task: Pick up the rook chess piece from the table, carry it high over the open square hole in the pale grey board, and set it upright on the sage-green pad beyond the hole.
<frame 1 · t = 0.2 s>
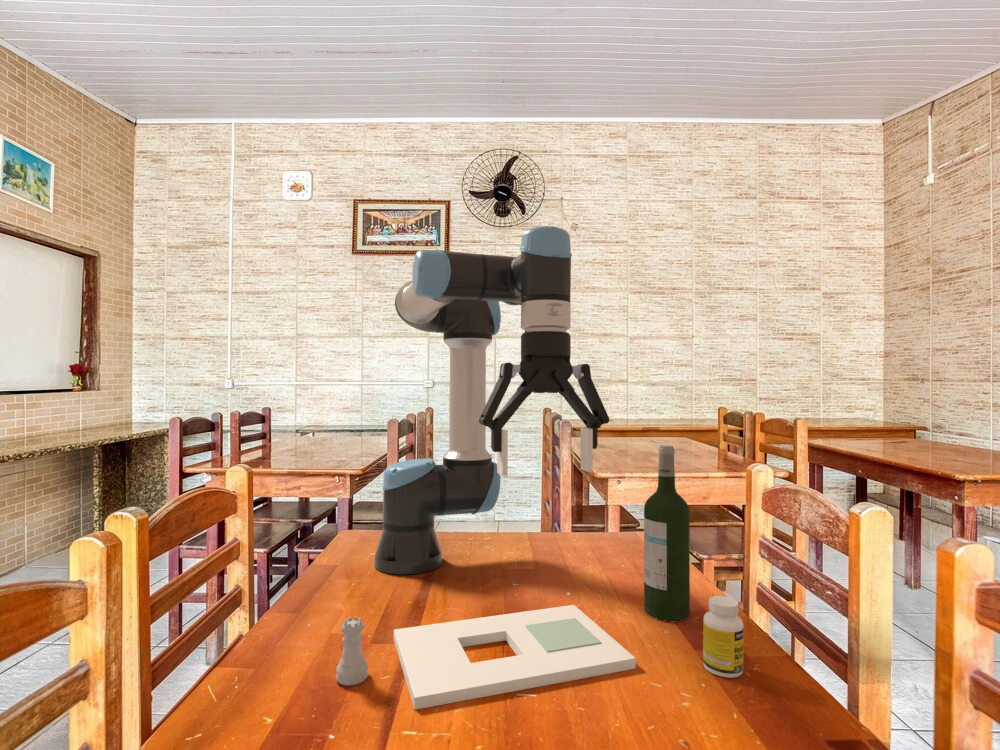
hand: (545, 472, 82), 28 cm above the table, tool pointing down, fingers open, 13 cm apart
hole board: (508, 653, 83), on the table
supplement bottle: (723, 670, 78), on the table
wine bottle: (666, 614, 98), on the table
rook chess piece: (352, 679, 75), on the table
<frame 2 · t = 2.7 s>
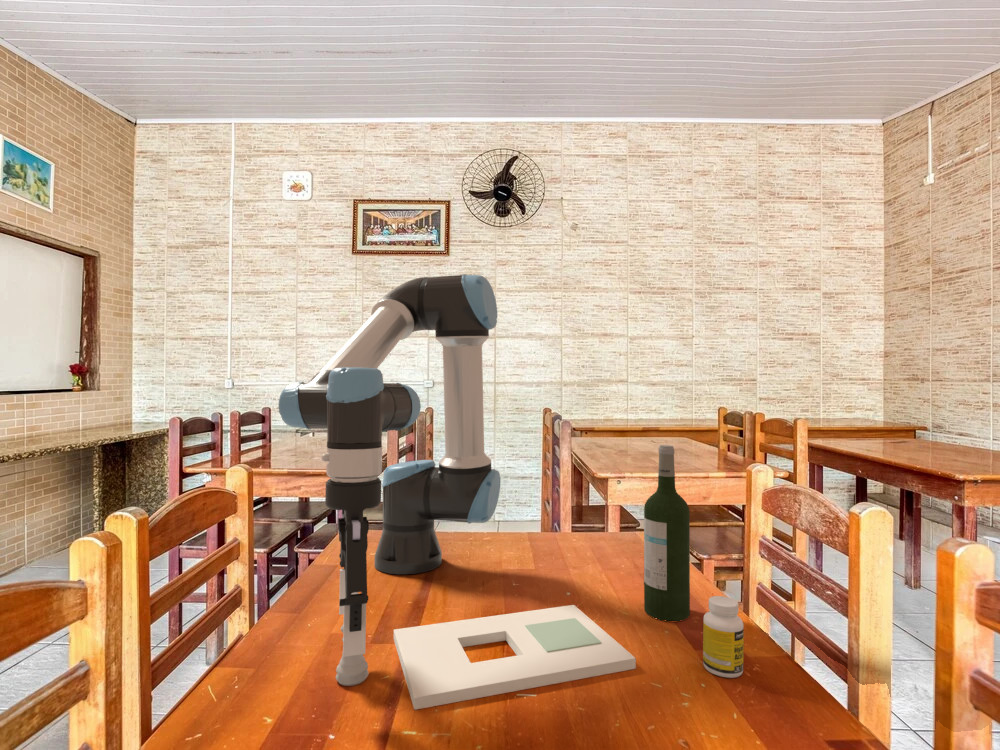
hand: (351, 631, 75), 7 cm above the table, tool pointing down, fingers open, 13 cm apart
nothing on the table moved.
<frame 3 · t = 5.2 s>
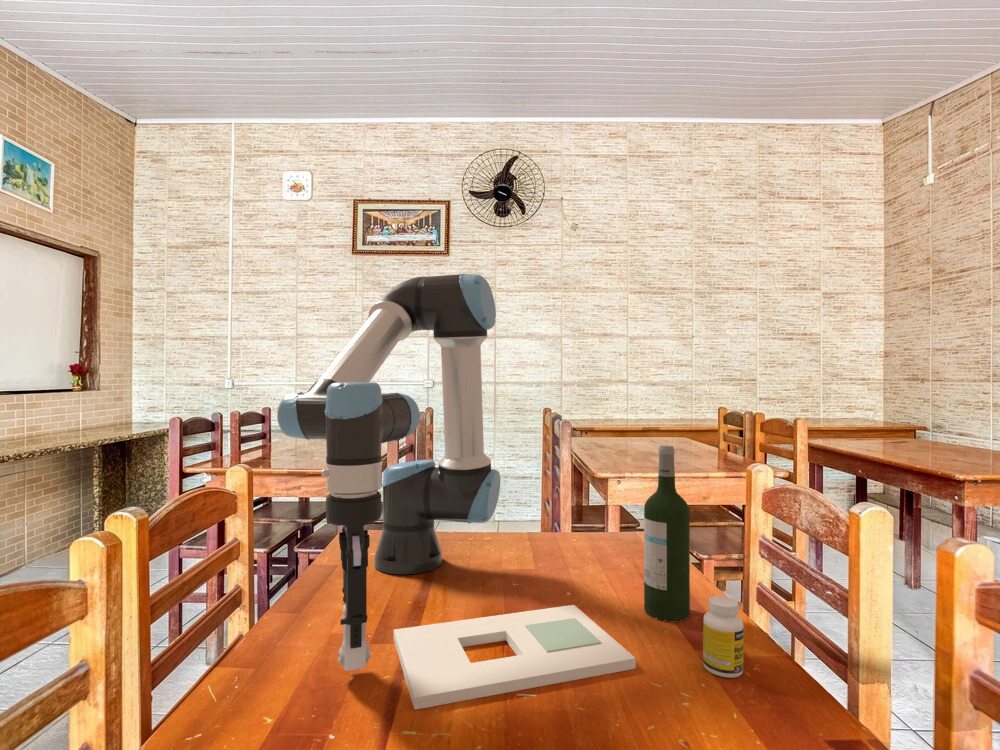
hand: (354, 658, 76), 2 cm above the table, tool pointing down, fingers closed on rook chess piece, 4 cm apart
rook chess piece: (354, 662, 76), point 2 cm above the table, touching gripper
everything else where it was.
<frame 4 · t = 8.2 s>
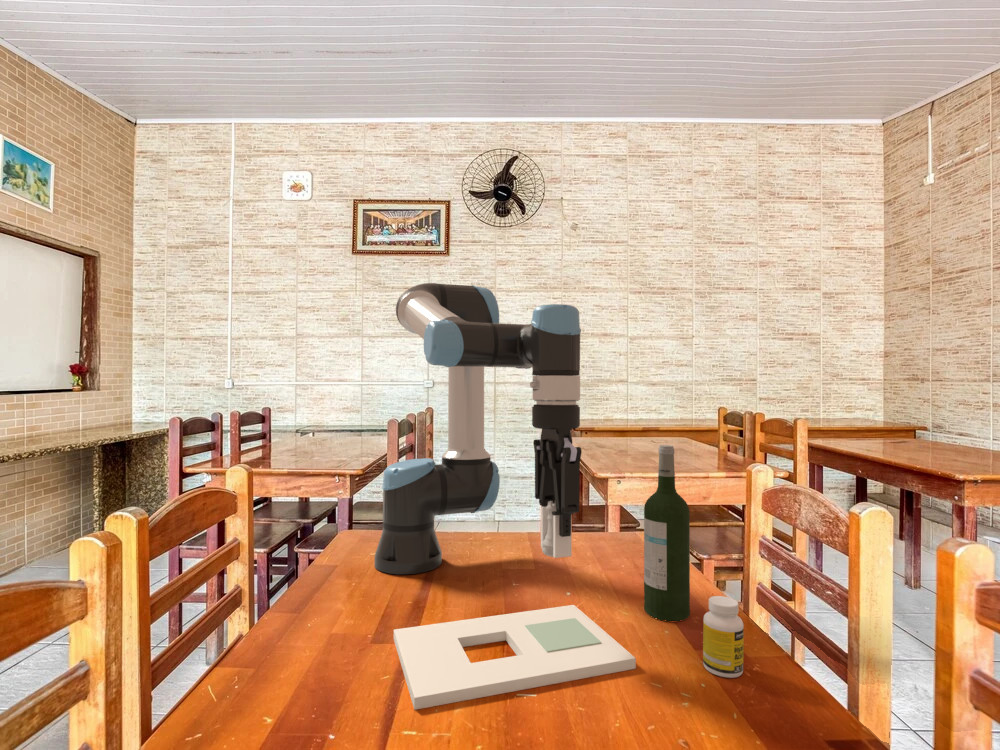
hand: (555, 551, 85), 15 cm above the table, tool pointing down, fingers closed on rook chess piece, 4 cm apart
rook chess piece: (555, 554, 85), point 14 cm above the table, touching gripper
everything else where it was.
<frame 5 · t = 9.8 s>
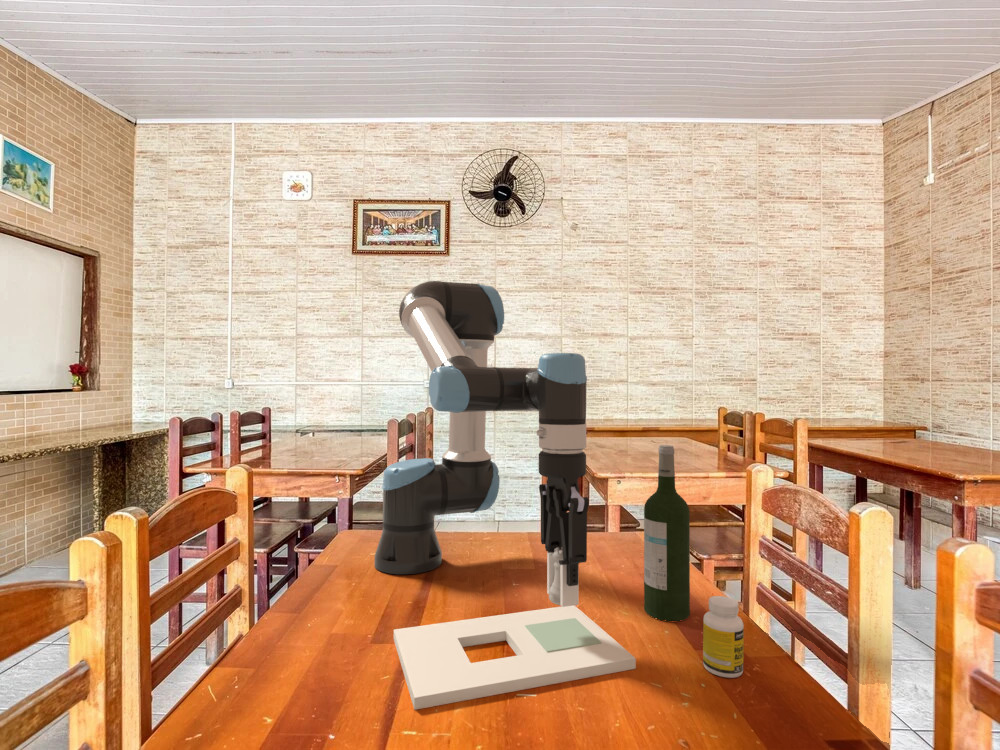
hand: (562, 598, 86), 7 cm above the table, tool pointing down, fingers closed on rook chess piece, 4 cm apart
rook chess piece: (562, 601, 86), point 7 cm above the table, touching gripper
everything else where it was.
when the fingers open (3 cm above the table, at t = 11.3 s): rook chess piece stays where it is, resting on hole board.
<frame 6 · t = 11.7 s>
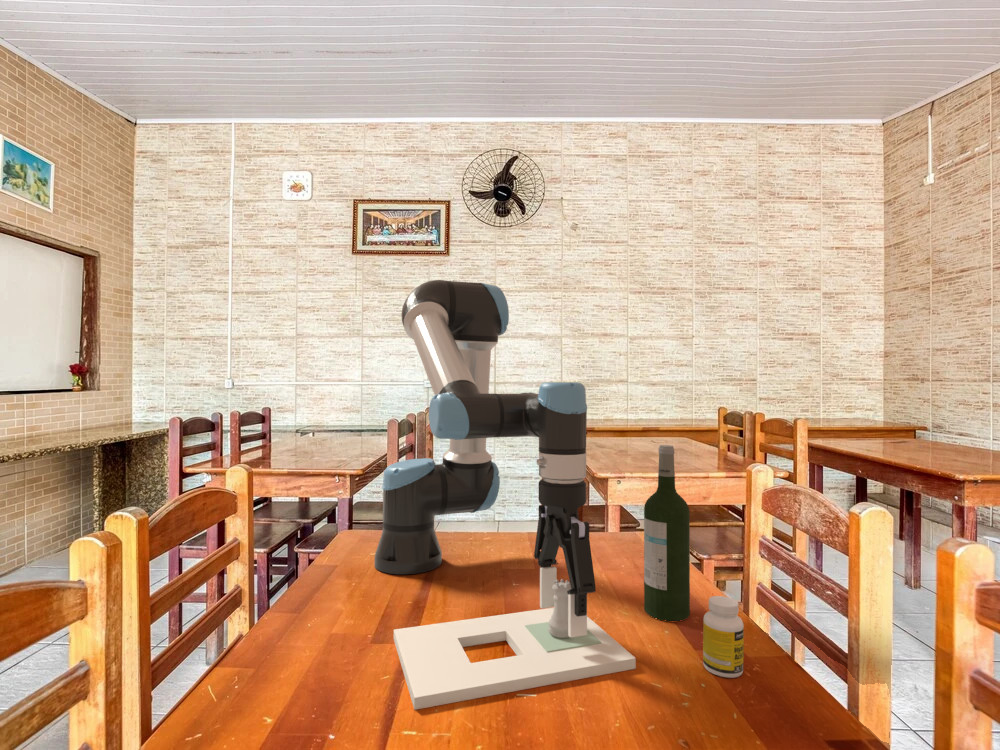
hand: (562, 620, 86), 4 cm above the table, tool pointing down, fingers open, 10 cm apart
rook chess piece: (561, 634, 86), point 2 cm above the table, touching hole board
everything else where it was.
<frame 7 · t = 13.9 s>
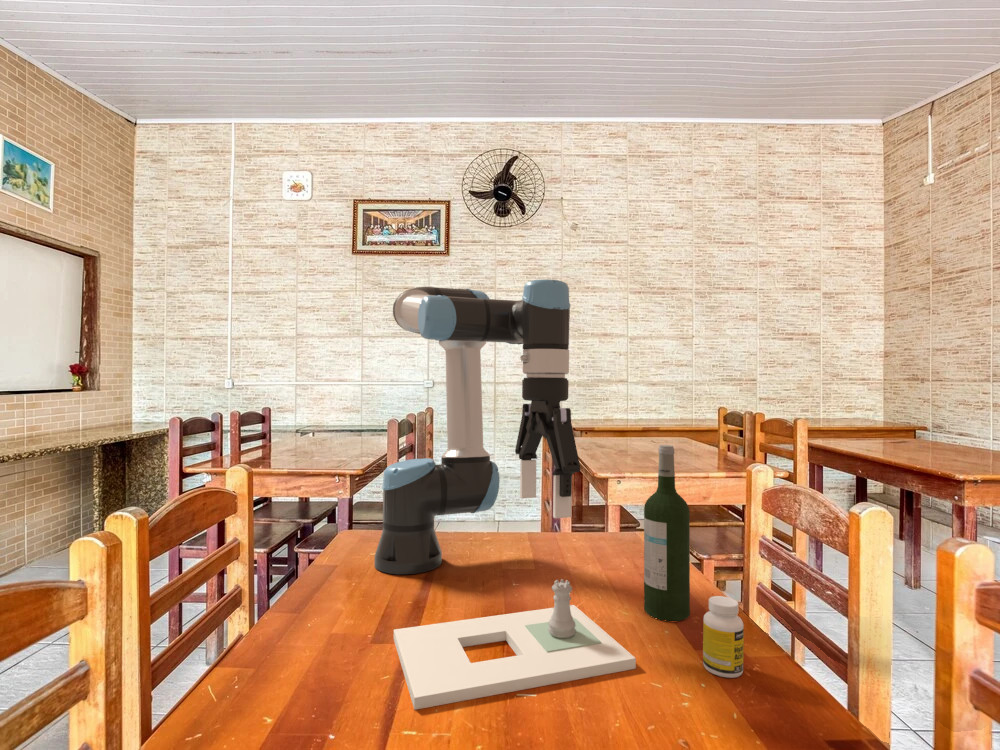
hand: (543, 506, 88), 21 cm above the table, tool pointing down, fingers open, 13 cm apart
nothing on the table moved.
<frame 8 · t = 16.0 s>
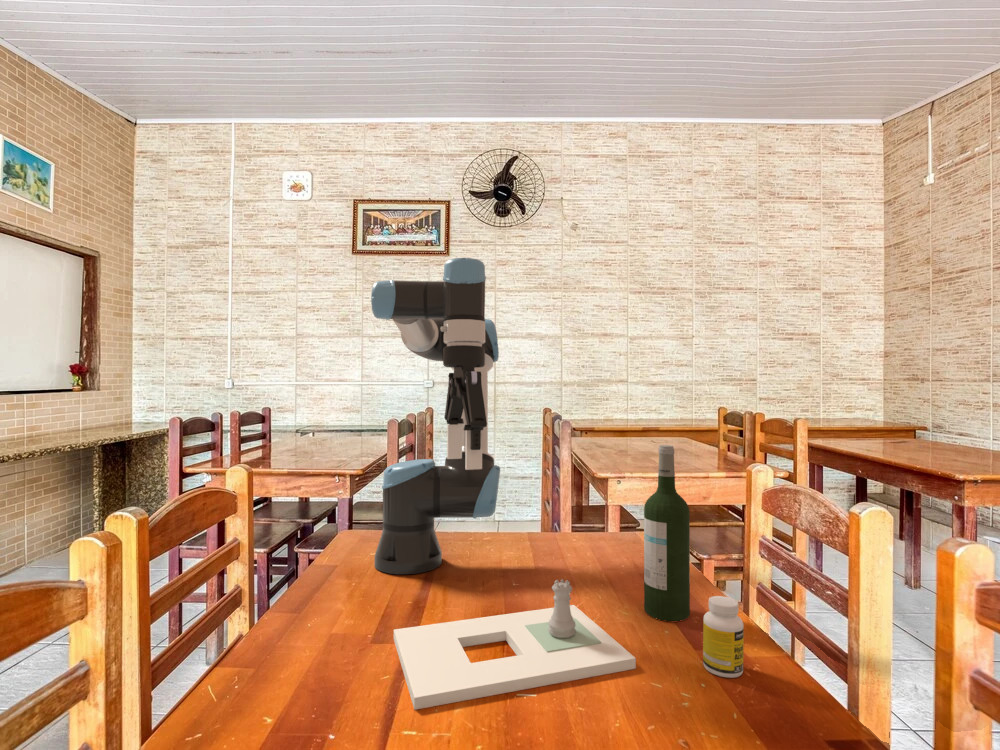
hand: (463, 463, 97), 27 cm above the table, tool pointing down, fingers open, 13 cm apart
nothing on the table moved.
at the end: rook chess piece inside the target area on the hole board (0.1 cm from its centre), point 1.5 cm above the hole board's base; rook chess piece tilted 0°; the gripper is holding nothing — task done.
